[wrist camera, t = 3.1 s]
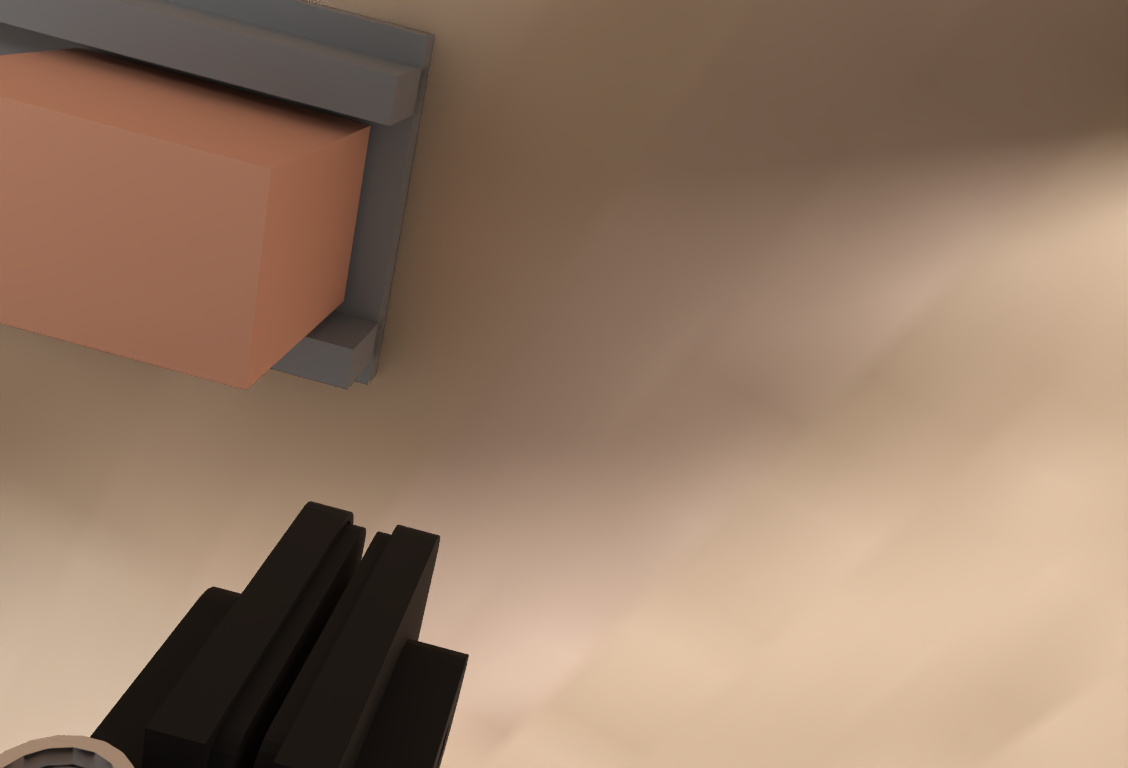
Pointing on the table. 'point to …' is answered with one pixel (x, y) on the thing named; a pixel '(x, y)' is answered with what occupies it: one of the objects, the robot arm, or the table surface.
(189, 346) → the block
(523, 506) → the table surface
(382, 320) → the chute
